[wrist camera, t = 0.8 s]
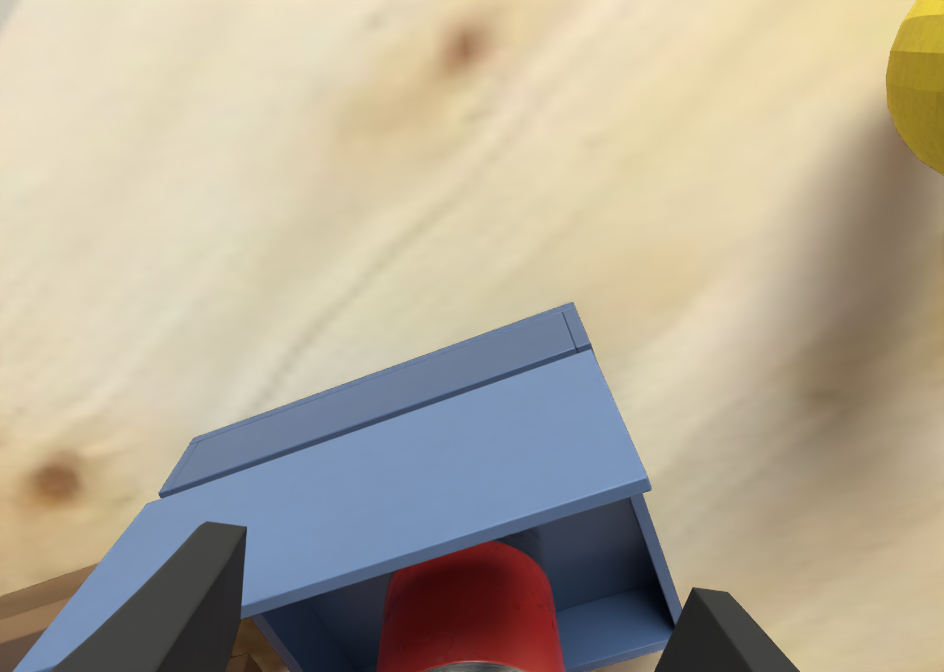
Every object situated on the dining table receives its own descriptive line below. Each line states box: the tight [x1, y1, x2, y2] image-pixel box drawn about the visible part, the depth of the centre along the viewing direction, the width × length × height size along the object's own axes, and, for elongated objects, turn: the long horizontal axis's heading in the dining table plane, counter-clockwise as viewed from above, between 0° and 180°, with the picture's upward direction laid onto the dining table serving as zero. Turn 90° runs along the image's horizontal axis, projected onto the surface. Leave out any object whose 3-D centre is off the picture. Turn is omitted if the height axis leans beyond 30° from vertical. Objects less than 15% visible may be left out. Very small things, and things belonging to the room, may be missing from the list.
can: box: [376, 528, 566, 672], centre depth 19 cm, size 6×6×8 cm
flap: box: [13, 349, 652, 672], centre depth 14 cm, size 6×13×1 cm
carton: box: [158, 302, 682, 672], centre depth 21 cm, size 12×13×3 cm
